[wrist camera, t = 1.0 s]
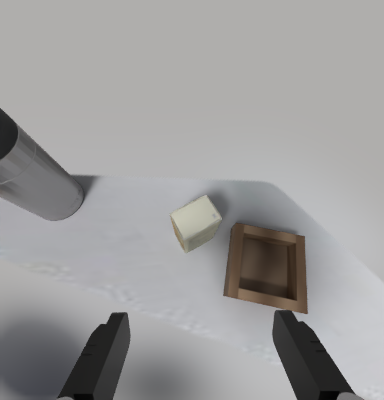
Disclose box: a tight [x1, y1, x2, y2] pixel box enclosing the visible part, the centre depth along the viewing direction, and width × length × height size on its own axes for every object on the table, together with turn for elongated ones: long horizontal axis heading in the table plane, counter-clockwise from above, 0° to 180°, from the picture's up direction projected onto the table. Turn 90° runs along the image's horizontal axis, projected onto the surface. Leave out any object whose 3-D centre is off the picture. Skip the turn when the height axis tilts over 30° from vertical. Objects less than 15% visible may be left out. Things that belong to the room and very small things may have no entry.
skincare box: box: [170, 195, 222, 253], centre depth 32 cm, size 6×4×12 cm
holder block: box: [223, 223, 308, 314], centre depth 34 cm, size 12×12×4 cm
